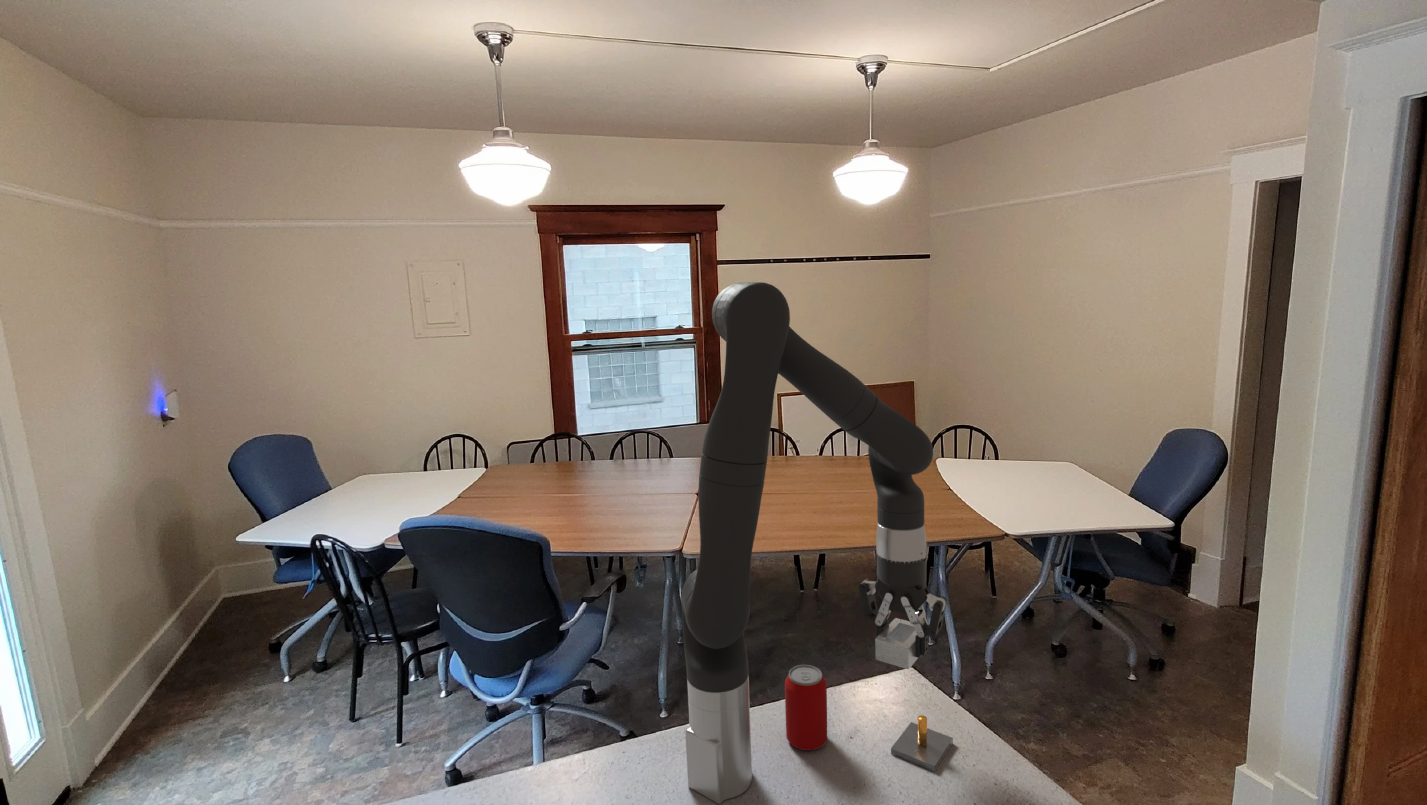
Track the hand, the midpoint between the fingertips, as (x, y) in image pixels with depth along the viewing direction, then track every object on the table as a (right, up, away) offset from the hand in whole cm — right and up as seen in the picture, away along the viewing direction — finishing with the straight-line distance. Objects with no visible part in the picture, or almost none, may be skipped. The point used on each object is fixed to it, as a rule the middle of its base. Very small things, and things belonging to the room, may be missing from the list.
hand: (902, 649), depth 107 cm
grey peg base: (+3, -16, 0) cm, 16 cm away
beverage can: (-15, -16, +3) cm, 22 cm away
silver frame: (0, 0, 0) cm, 1 cm away
